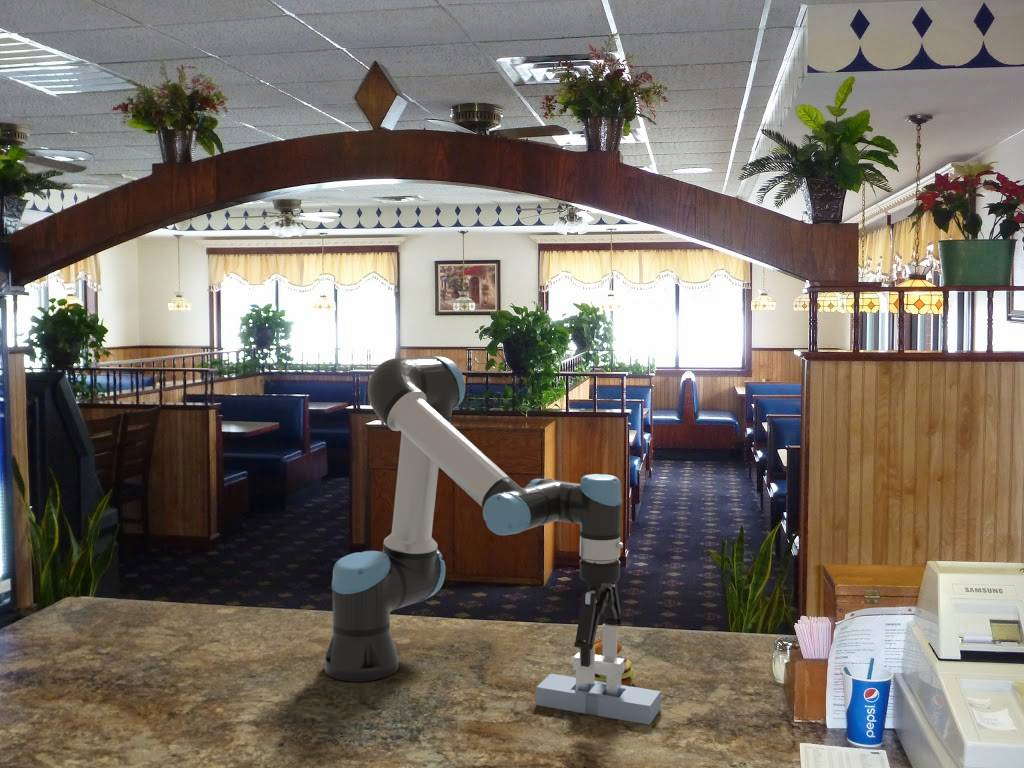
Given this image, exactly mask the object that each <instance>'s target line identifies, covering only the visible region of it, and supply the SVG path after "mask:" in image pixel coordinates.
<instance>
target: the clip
mask: <svg viewBox="0 0 1024 768" xmlns="http://www.w3.org/2000/svg"><path fill="white" fill-rule="evenodd" d="M572 667H573V668H572V670H573V671H575V678H576V690H577V691H583V692H589V691H590V690H591V684H590V683H584V682H579V651H578V652H577V653H576V654H575V655H574V656H573V666H572ZM623 673H624V659H621V658H615V657H608V656H601V655H595V674H601V675H606V695H607V696H613V697H620V696H621V675H622V674H623Z"/></svg>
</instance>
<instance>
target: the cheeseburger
mask: <svg viewBox="0 0 1024 768" xmlns="http://www.w3.org/2000/svg"><path fill="white" fill-rule="evenodd" d="M593 647H594V648H595V655H601V656H602V648H603V639H599V640H598V639H597V640H594V644H593ZM622 649H623V646H622V644H621V643H619V641H617V658H621V659H624V673H623V674H622V675H621V685H625V686H631V687H632V685H633V684H634V683H635V682H636V674H635V673H634V672H635V671H634V668H633V667H632V664H633V663H632V661H630V660H629V659H628V658H627V657H626V656H624V655H618V654H619V653H621V651H622ZM595 681H600V682H606V675H601V674H595Z"/></svg>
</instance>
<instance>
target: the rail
mask: <svg viewBox="0 0 1024 768" xmlns="http://www.w3.org/2000/svg"><path fill="white" fill-rule="evenodd" d="M535 690H536V695H535V696H536V699H535V701H536V706H540V707H545V708H550V709H551V708H552V709H557V710H561V711H562V710H563V711H569V712H575V713H581V714H586V715H591V716H592V715H593V716H597V717H604V718H609V719H615V720H620V721H626V722H631V723H632V722H633V723H637V724H642V725H649V726H650V725H651V723H652V722H653V721H654V719H655V718H656V717H657V715H658V713H659V712H660V710H661V700H662V699H661V695H662V692H661V690H656V689H655V690H654V689H650V688H649V689H647V688H642V687H635V686H632V685H631V686H630V685H627V686H625V685H621V696H620V697H613V696H607V695H606V682H600V681H595V683H594V684H591V690H590V691H589V692H583V691H577V690H576V676H575V677H574V676H567V675H562V674H555V673H550V674H548V676H546V677H545V679H543V680H542V681H541V682H540V683H539V684H538V685H536V689H535Z"/></svg>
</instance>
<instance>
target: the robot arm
mask: <svg viewBox="0 0 1024 768" xmlns="http://www.w3.org/2000/svg"><path fill="white" fill-rule="evenodd" d="M465 393H466V383H465V378H464V376H463V372H462V371H461V370H460V369H459V367H458V364H456V362H454V361H453V360H451V359H450V358H447V357H444V356H438V355H437V356H436V355H424V356H422V355H421V356H411V357H396V358H390V359H388V360H385V361H383V362H382V363H380V364H378V366H377V367H376V368H375V369H374V370H373V372H372V373H371V374H370V378H369V381H368V385H367V397H368V400H369V404H370V407H371V408H372V409H373V411H374V413H375V414H376V416H377V417H378V419H380V420H381V421H382V422H383V423H384V424H385V425H386V426H387V427H388V428H389V429H390V430H391V431H395V432H401V434H400V435H401V436H400V444H399V455H398V466H397V473H396V474H397V476H396V486H395V493H394V494H395V495H394V504H393V515H392V516H393V517H392V526H391V533H390V534H389V535H388V536H386V537H385V538H384V540H383V545H382V546H383V547H382V551H378V550H364V551H362V552H359V551H358V552H353V553H350V554H347V555H345V556H343V557H341V558H340V559H338V560H337V561H336V562H335V564H334V566H333V567H332V568H333V569H332V580H331V590H332V591H331V594H332V595H331V596H332V635H331V639H330V642H329V645H328V647H327V651H326V654H325V658H324V672H325V674H326V675H327V676H328V677H330V678H333V679H334V680H335V679H336V680H340V681H345V682H371V681H376V680H380V679H383V678H387V677H389V676H391V675H393V674H395V673H396V672H397V671H398V669H399V655H398V652H397V649H396V645H395V642H394V639H393V635H392V634H391V618H390V617H391V616H390V615H391V612H393V611H395V610H398V609H401V608H403V607H407V606H410V605H412V604H413V605H414V604H418V603H421V602H423V601H425V600H427V599H429V598H430V597H433V596H434V595H435V594H437V593H438V592H439V591H440V589H441V588H442V587H443V584H444V581H445V578H446V564H445V560H443V559H442V558H443V555H442V553H441V551H440V550H439V549H438V542H437V541H435V539H434V538H433V537H432V533H433V526H434V524H433V523H434V515H435V514H434V513H435V507H436V506H435V505H436V497H437V496H436V495H437V487H438V477H439V469H441V470H442V471H443V472H444V473H445V474H446V475H447V476H448V477H449V478H450V479H452V481H453V482H455V483H456V484H457V486H459V487H460V488H461V489H462V490H463V491H465V493H466V494H468V496H469V497H471V499H473V500H474V502H476V503H477V504H478V505H479V506H480V507H481V508H482V517H483V521H484V522H485V524H486V527H487V529H488V530H489V531H491V532H492V533H493V534H495V535H497V536H509V535H517V534H520V533H522V532H524V531H527V530H530V529H533V528H537V527H542V526H545V525H547V524H551V523H554V522H563V523H570V524H576V525H577V524H578V525H579V532H580V533H579V557H581V558H580V560H579V578H580V579H581V580H582V581H584V582H586V583H587V584H588V586H587V587H588V588H587V590H586V591H582V593H581V601H580V610H579V616H578V623H577V624H578V625H577V628H576V637H575V642H574V644H573V645H574V648H578V649H579V650H578V652H579V682H584V683H590V684H594V683H595V648H594V647H593V644H594V641H596V640H595V638H596V634H597V632H598V626H599V622H600V621H599V620H600V617H601V616H602V618H603V620H604V623H603V624H602V640H603V648H602V656H608V657H615V658H617V656H618V654H617V642H618V625H620V626H621V625H622V624H623V619H622V618H621V617H622V612H621V604H620V599H619V591H618V585H617V583H618V581H619V580H620V578H621V561H620V560H619V558H620V557H621V549H622V548H624V544H623V543H622V542H621V525H622V524H621V520H622V517H621V516H622V503H623V499H622V488H621V486H622V484H621V483H622V482H621V479H619V478H618V477H617V476H615V475H611V474H605V473H603V474H601V473H600V474H599V473H594V474H592V473H591V474H585V475H583V476H582V477H581V478H580V483H577V482H576V483H575V482H568V481H563V480H562V481H561V480H557V479H552V478H548V477H547V478H533V479H532V480H530V481H529V483H528V484H526V486H525V487H521V486H520V485H519V484H518V483H517V482H516V481H514V480H513V479H512V478H511V477H510V476H509V475H507V474H506V473H505V472H504V471H503V470H502V469H501V468H500V467H499V466H498V465H497V464H496V463H494V462H493V460H491V459H490V458H489V457H488V456H486V454H484V453H483V452H482V451H481V450H480V449H479V448H478V447H477V446H475V445H474V443H472V442H471V441H470V440H469V439H468V438H467V437H466V436H465V435H463V434H462V433H461V432H460V431H459V430H458V429H457V428H456V427H455V426H453V424H451V422H452V412H453V410H455V409H456V408H458V407H459V405H460V404H461V403H462V402H463V400H464V399H465V395H466V394H465Z"/></svg>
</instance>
